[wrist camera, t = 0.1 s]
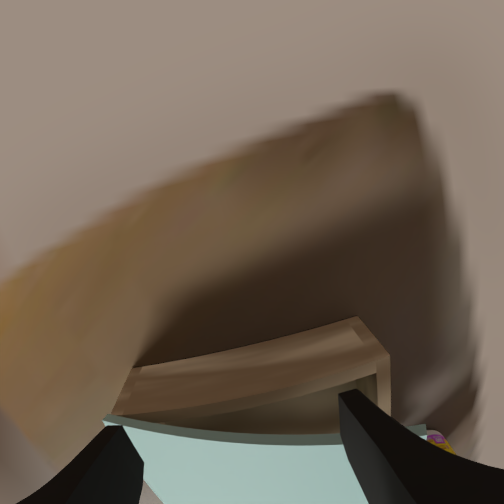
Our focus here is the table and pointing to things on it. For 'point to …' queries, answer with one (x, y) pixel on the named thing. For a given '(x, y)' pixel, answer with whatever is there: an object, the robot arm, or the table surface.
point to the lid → (244, 465)
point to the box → (264, 384)
